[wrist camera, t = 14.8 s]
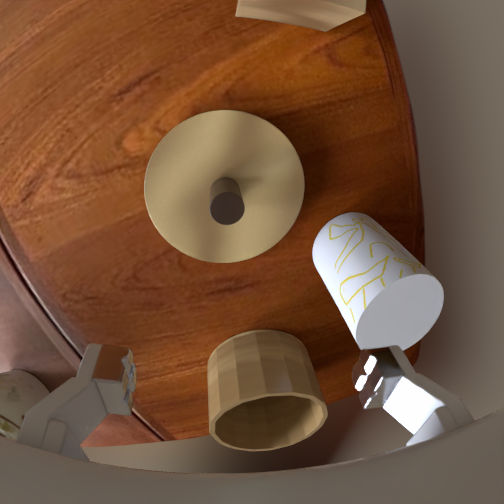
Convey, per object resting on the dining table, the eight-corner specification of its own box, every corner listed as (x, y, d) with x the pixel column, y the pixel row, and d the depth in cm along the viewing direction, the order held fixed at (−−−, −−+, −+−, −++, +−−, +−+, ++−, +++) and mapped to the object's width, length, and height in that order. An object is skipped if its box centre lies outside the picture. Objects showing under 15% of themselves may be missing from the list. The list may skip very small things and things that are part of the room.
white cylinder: (372, 199, 30) (441, 256, 20) (387, 261, 34) (444, 326, 24) (301, 233, 31) (344, 307, 21) (325, 291, 35) (365, 369, 24)
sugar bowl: (20, 411, 42) (0, 473, 29) (-28, 357, 35) (-61, 421, 22) (94, 411, 42) (79, 489, 29) (42, 348, 35) (5, 435, 22)
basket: (318, 328, 38) (342, 387, 29) (296, 393, 44) (310, 446, 35) (208, 328, 35) (210, 393, 27) (206, 395, 41) (209, 452, 33)
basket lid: (312, 119, 26) (335, 126, 21) (288, 260, 32) (302, 291, 27) (149, 106, 24) (133, 108, 19) (147, 253, 30) (136, 285, 25)
